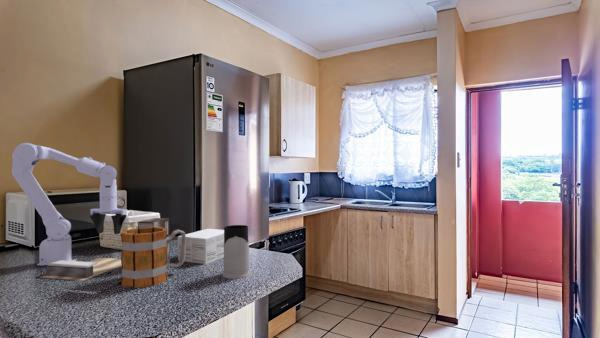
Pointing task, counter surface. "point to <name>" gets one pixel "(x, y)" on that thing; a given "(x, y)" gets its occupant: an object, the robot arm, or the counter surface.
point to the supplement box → (203, 246)
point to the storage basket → (129, 223)
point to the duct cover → (72, 264)
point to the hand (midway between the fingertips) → (108, 233)
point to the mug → (147, 256)
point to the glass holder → (236, 252)
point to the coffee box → (158, 223)
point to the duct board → (83, 270)
